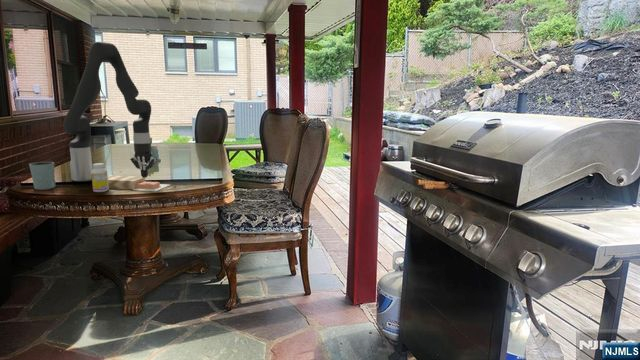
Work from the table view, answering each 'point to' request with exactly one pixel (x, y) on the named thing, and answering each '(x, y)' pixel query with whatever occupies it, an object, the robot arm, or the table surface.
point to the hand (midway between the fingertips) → (144, 177)
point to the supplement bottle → (99, 178)
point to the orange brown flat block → (148, 185)
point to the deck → (124, 181)
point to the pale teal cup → (43, 175)
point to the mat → (153, 189)
